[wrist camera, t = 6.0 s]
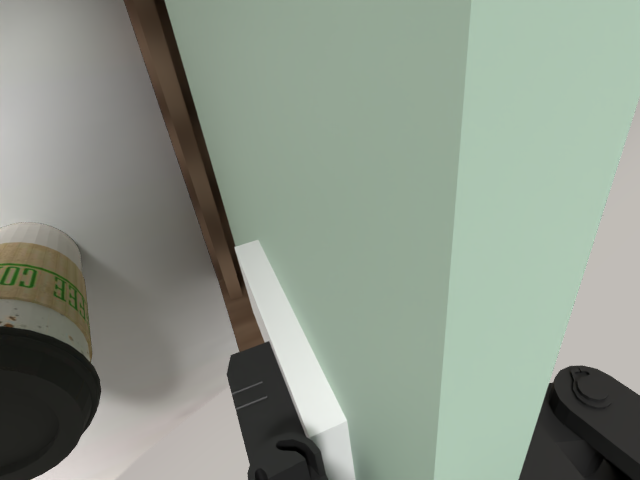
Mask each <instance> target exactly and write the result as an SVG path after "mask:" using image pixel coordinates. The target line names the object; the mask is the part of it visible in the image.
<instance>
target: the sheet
mask: <svg viewBox="0 0 640 480" xmlns="http://www.w3.org/2000/svg"><path fill="white" fill-rule="evenodd" d="M164 1H165V4H166V7H167V11H168V14H169V18H170V21H171V25H172V28H173V32H174V35H175V39H176V42H177V46H178V49H179V53H180V56H181V59H182V63H183V66H184V70H185V73H186V77H187V80H188V84H189V87H190V91H191V94H192V98H193V101H194V104H195V108H196V111H197V115H198V118H199V122H200V125H201V129H202V132H203V136H204V139H205V143H206V146H207V149H208V153H209V156H210V160H211V163H212V167H213V170H214V174H215V177H216V181H217V184H218V188H219V191H220V194H221V198H222V201H223V205H224V208H225V212H226V215H227V219H228V222H229V226H230V229H231V233H232V236H233V239H234V243H235V246H239V245H242V244H246V243H249V242H252V241H255V240H259V242H260V244H261V246H262V248H263V250H264V252H265V254H266V256H267V259H268V261H269V263H270V265H271V267H272V269H273V271H274V273H275V275H276V277H277V279H278V281H279V283H280V285H281V287H282V289H283V291H284V293H285V295H286V297H287V299H288V301H289V303H290V305H291V307H292V309H293V312H294V314H295V316H296V318H297V320H298V322H299V324H300V326H301V328H302V330H303V332H304V334H305V336H306V338H307V340H308V342H309V344H310V346H311V348H312V350H313V352H314V354H315V356H316V358H317V360H318V363H319V365H320V367H321V369H322V371H323V373H324V375H325V377H326V379H327V381H328V383H329V385H330V387H331V389H332V391H333V393H334V395H335V397H336V399H337V401H338V403H339V405H340V407H341V409H342V411H343V413H344V416H345V418H346V420H347V423H348V430H349V437H350V444H351V452H352V459H353V466H354V473H355V480H518V479H519V476H520V473H521V470H522V467H523V464H524V461H525V457H526V454H527V451H528V448H529V445H530V442H531V438H532V435H533V432H534V429H535V426H536V423H537V419H538V416H539V413H540V410H541V407H542V404H543V401H544V397H545V394H546V391H547V388H548V385H549V382H550V378H551V375H552V372H553V369H554V365H555V362H556V359H557V356H558V353H559V350H560V346H561V344H562V340H563V337H564V334H565V331H566V327H567V324H568V322H569V318H570V315H571V312H572V309H573V306H574V303H575V299H576V296H577V293H578V290H579V287H580V284H581V280H582V277H583V274H584V271H585V268H586V264H587V261H588V258H589V255H590V252H591V249H592V246H593V242H594V239H595V236H596V233H597V230H598V226H599V223H600V220H601V217H602V214H603V211H604V208H605V205H606V201H607V198H608V195H609V192H610V189H611V186H612V182H613V179H614V176H615V173H616V170H617V167H618V163H619V160H620V157H621V154H622V151H623V148H624V145H625V141H626V138H627V135H628V132H629V129H630V126H631V122H632V119H633V116H634V113H635V110H636V106H637V103H638V100H639V97H640V0H164Z"/></svg>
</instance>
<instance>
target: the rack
mask: <svg viewBox="0 0 640 480" xmlns="http://www.w3.org/2000/svg"><path fill="white" fill-rule="evenodd" d="M124 3H125V6H126V9H127V12H128V14H129V17H130V20H131V23H132V26H133V29H134V32H135V35H136V38H137V41H138V44H139V47H140V50H141V53H142V56H143V59H144V62H145V65H146V68H147V71H148V74H149V77H150V80H151V83H152V86H153V89H154V92H155V95H156V97H157V100H158V103H159V106H160V109H161V112H162V115H163V118H164V121H165V124H166V127H167V130H168V133H169V136H170V139H171V142H172V145H173V148H174V151H175V154H176V157H177V160H178V163H179V166H180V169H181V172H182V175H183V177H184V180H185V183H186V186H187V189H188V192H189V195H190V198H191V201H192V204H193V207H194V210H195V213H196V216H197V219H198V222H199V225H200V228H201V231H202V234H203V237H204V240H205V243H206V246H207V249H208V252H209V255H210V257H211V260H212V263H213V266H214V269H215V272H216V275H217V278H218V281H219V285H220V288H221V291H222V295H223V298H224V301H225V305H226V308H227V311H228V315H229V318H230V321H231V325H232V328H233V331H234V335H235V338H236V341H237V345H238V348H239V351H240V352H241V351H244V350H246V349H249V348H252V347H254V346H257V345H260V344H262V343H265V342H264V339H263V337H262V334H261V331H260V329H259V326H258V323H257V321H256V318H255V315H254V313H253V310H252V306H251V303H250V299H249V296H248V293H247V289H246V286H245V282H244V279H243V275H242V272H241V268H240V265H239V262H238V258H237V255H236V251H235V248H234V247H236V246H235V243H234V239H233V236H232V233H231V229H230V226H229V222H228V219H227V215H226V212H225V208H224V205H223V201H222V198H221V194H220V191H219V188H218V184H217V181H216V177H215V174H214V170H213V167H212V163H211V160H210V156H209V153H208V149H207V146H206V143H205V139H204V136H203V132H202V129H201V125H200V122H199V118H198V115H197V111H196V108H195V104H194V101H193V98H192V94H191V91H190V87H189V84H188V80H187V77H186V73H185V70H184V66H183V63H182V59H181V56H180V53H179V49H178V46H177V42H176V39H175V35H174V32H173V28H172V25H171V21H170V18H169V14H168V11H167V7H166V4H165V1H164V0H124Z"/></svg>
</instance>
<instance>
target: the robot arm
mask: <svg viewBox="0 0 640 480" xmlns="http://www.w3.org/2000/svg"><path fill="white" fill-rule="evenodd" d="M234 248H235V251H236V255H237V258H238V262H239V265H240V268H241V272H242V275H243V279H244V282H245V286H246V289H247V293H248V296H249V299H250V303H251V306H252V310H253V313H254V315H255V318H256V321H257V323H258V326H259V329H260V331H261V334H262V337H263V339H264V342H265V343H262V344H260V345H257V346H254V347H252V348H249V349H246V350H244V351H241V352H238V353H236V354H233V355H231V357H230V362H229V366H228V371H227V377H228V381H229V385H230V389H231V392H232V396H233V400H234V404H235V408H236V411H237V416H238V420H239V424H240V428H241V432H242V436H243V439H244V444H245V447H246V451H247V455H248V459H249V463H250V467H249V470H248V480H355V473H354V466H353V459H352V452H351V444H350V437H349V430H348V423H347V420H346V418H345V416H344V413H343V411H342V409H341V407H340V405H339V403H338V401H337V399H336V397H335V395H334V393H333V391H332V389H331V387H330V385H329V383H328V381H327V379H326V377H325V375H324V373H323V371H322V369H321V367H320V365H319V363H318V360H317V358H316V356H315V354H314V352H313V350H312V348H311V346H310V344H309V342H308V340H307V338H306V336H305V334H304V332H303V330H302V328H301V326H300V324H299V322H298V320H297V318H296V316H295V314H294V312H293V309H292V307H291V305H290V303H289V301H288V299H287V297H286V295H285V293H284V291H283V289H282V287H281V285H280V283H279V281H278V279H277V277H276V275H275V273H274V271H273V269H272V267H271V265H270V263H269V261H268V259H267V256H266V254H265V252H264V250H263V248H262V246H261V244H260V242H259V240H255V241H252V242H249V243H246V244H242V245H239V246H236V247H234ZM518 480H640V395H638V394H636V393H635V392H634V391H632V390H631V389H629V388H628V387H626V386H624V385H623V384H622V383H620V382H618V381H617V380H616V379H614V378H613V377H611V376H609V375H608V374H606V373H604V372H602V371H600V370H598V369H594V368H591V367H586V366H569V367H567V368H565V369H562V370H560V372H559V373H558V374H557V376H556V377H555V379H554V382H553V383H549V385H548V388H547V391H546V394H545V397H544V401H543V404H542V407H541V410H540V413H539V416H538V419H537V423H536V426H535V429H534V432H533V435H532V438H531V442H530V445H529V448H528V451H527V454H526V457H525V461H524V464H523V467H522V470H521V473H520V476H519V479H518Z"/></svg>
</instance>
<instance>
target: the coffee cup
mask: <svg viewBox="0 0 640 480" xmlns="http://www.w3.org/2000/svg"><path fill="white" fill-rule="evenodd" d="M91 359H92V346H91V336H90V326H89V316H88V307H87V297H86V287H85V280H84V277H83V275H82V264H81V255H80V251H79V249H78V247H77V245H76V244H75V242H74V241H73V240H72V239H71V238H70V237H69V236H68V235H67V234H65V233H63V232H62V231H60V230H59V229H56V228H54V227H52V226H48V225H45V224H41V223H32V222H25V223H16V224H10V225H8V226H5V227H2V228H0V480H31V479H33V478H35V477H37V476H39V475H42V474H43V473H45V472H47V471H48V470H50V469H51V468H53V467H55V466H56V465H57V464H59V463H60V462H61V461H62V460H63V459H65V458H66V457H67V456H68V455H69V454H70V453H71V451H72V450H73V449H74V448H75V446H76V445H77V443H78V441H79V439H80V437H81V435H82V434H83V433H84V431H85V430H86V429H87V428H88V427H89V425H90V423H91V421H92V419H93V417H94V415H95V413H96V411H97V407H98V405H99V400H100V395H101V386H100V379H99V377H98V374H97V372H96V370H95V368H94V366H93V365H92V364H91Z"/></svg>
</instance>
